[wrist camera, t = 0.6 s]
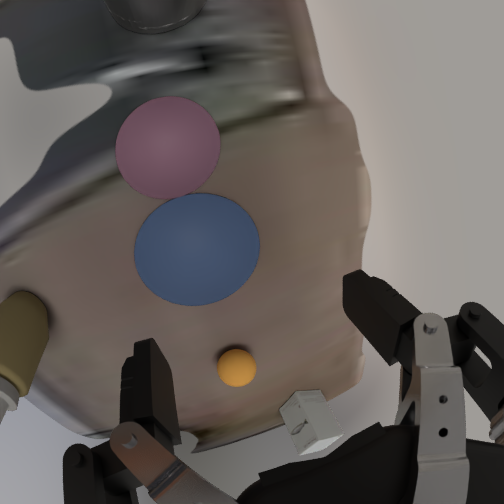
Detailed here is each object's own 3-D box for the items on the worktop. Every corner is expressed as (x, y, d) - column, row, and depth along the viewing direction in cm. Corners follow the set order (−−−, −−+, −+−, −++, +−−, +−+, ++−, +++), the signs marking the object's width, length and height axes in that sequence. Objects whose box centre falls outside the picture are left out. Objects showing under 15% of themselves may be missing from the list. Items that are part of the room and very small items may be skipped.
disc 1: (104, 115, 21) (103, 116, 20) (209, 85, 22) (209, 85, 22) (133, 211, 26) (133, 211, 26) (228, 182, 28) (229, 183, 27)
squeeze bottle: (-3, 281, 24) (-57, 395, 9) (46, 283, 26) (1, 414, 11) (15, 328, 27) (-16, 438, 12) (61, 332, 30) (41, 454, 15)
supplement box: (294, 390, 52) (319, 440, 41) (320, 388, 55) (346, 433, 45) (277, 409, 54) (298, 456, 44) (303, 407, 58) (324, 450, 47)
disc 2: (115, 217, 26) (115, 218, 25) (247, 177, 28) (248, 178, 28) (160, 317, 33) (160, 318, 33) (266, 284, 35) (267, 285, 35)
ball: (209, 348, 38) (217, 378, 34) (246, 336, 39) (258, 366, 34) (218, 369, 41) (227, 397, 37) (252, 358, 42) (263, 386, 38)
